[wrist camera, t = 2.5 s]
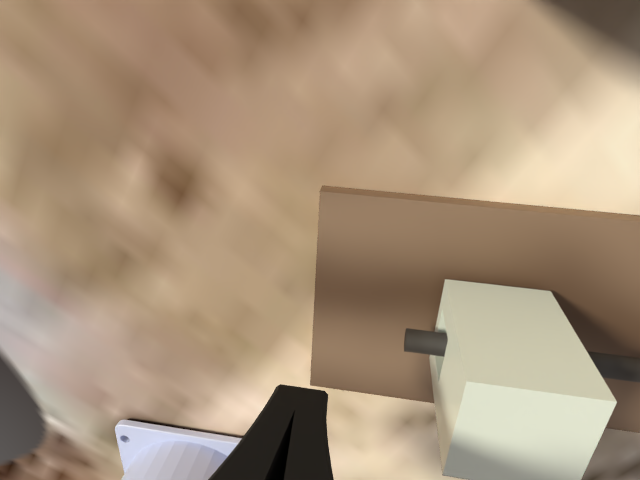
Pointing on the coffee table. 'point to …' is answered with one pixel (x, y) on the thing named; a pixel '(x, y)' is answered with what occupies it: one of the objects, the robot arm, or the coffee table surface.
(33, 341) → the coffee table surface
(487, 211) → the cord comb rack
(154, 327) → the coffee table surface
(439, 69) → the coffee table surface
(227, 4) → the coffee table surface
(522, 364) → the sleeve
